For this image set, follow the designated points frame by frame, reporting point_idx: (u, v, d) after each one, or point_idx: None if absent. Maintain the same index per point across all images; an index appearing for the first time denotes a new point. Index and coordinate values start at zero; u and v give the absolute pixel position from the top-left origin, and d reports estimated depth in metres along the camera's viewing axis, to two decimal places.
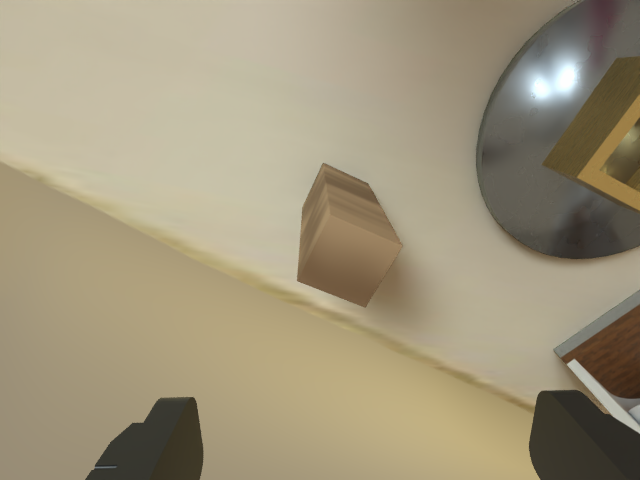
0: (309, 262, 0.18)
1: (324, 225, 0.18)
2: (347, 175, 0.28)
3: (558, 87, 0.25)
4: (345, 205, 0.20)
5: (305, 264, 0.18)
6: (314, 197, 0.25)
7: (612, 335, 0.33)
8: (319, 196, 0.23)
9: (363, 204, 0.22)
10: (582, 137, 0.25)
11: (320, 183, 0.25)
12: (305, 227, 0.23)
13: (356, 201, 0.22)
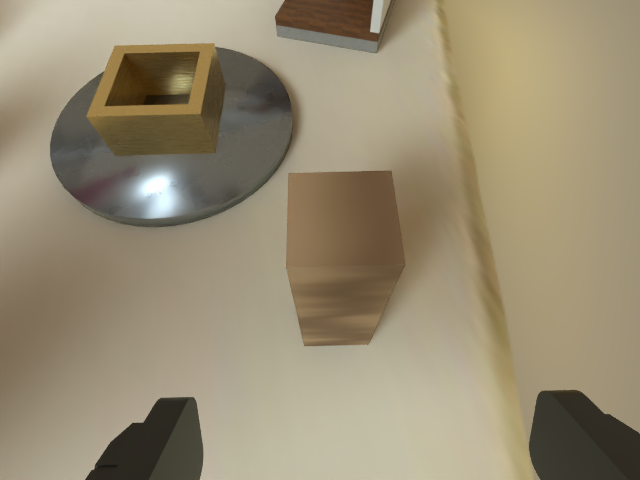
0: (367, 261, 0.12)
1: (306, 268, 0.12)
2: None
3: (148, 178, 0.28)
4: None
5: (374, 265, 0.12)
6: (332, 327, 0.19)
7: (332, 24, 0.36)
8: (318, 317, 0.17)
9: None
10: (174, 134, 0.27)
11: (313, 329, 0.19)
12: (364, 313, 0.17)
13: None
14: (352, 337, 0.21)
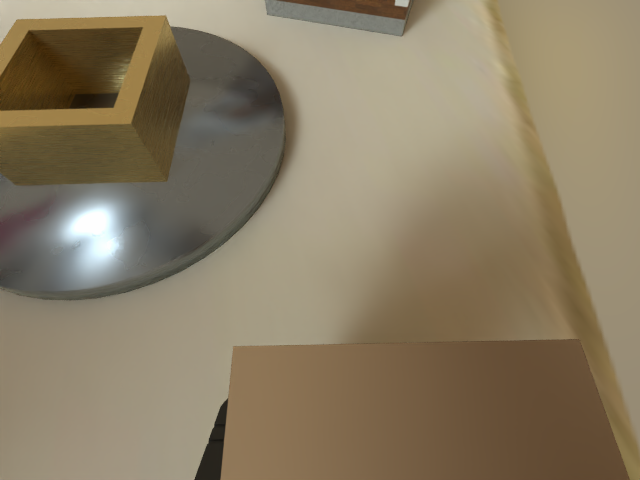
0: None
1: None
2: None
3: (60, 222, 0.18)
4: None
5: None
6: None
7: None
8: None
9: None
10: (97, 155, 0.17)
11: None
12: None
13: None
14: None
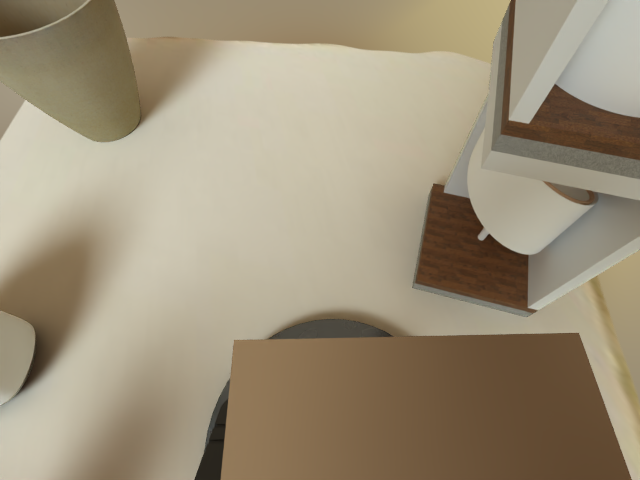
0: None
1: None
2: None
3: None
4: None
5: None
6: None
7: (482, 294, 0.32)
8: None
9: None
10: None
11: None
12: None
13: None
14: None
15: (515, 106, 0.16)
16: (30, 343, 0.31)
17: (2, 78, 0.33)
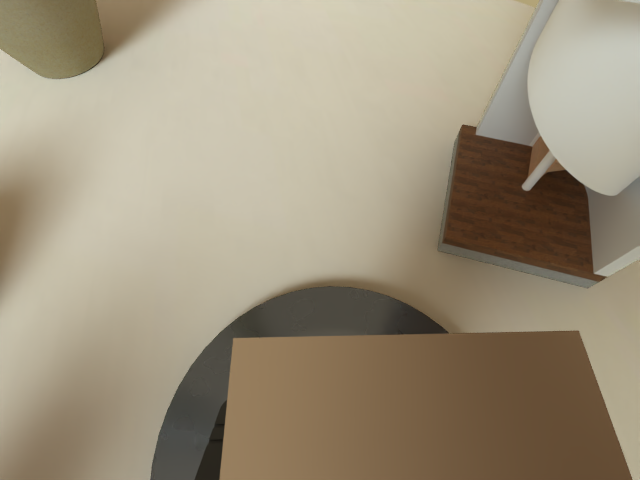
0: None
1: None
2: None
3: None
4: None
5: None
6: None
7: (533, 255, 0.25)
8: None
9: None
10: None
11: None
12: None
13: None
14: None
15: None
16: None
17: None
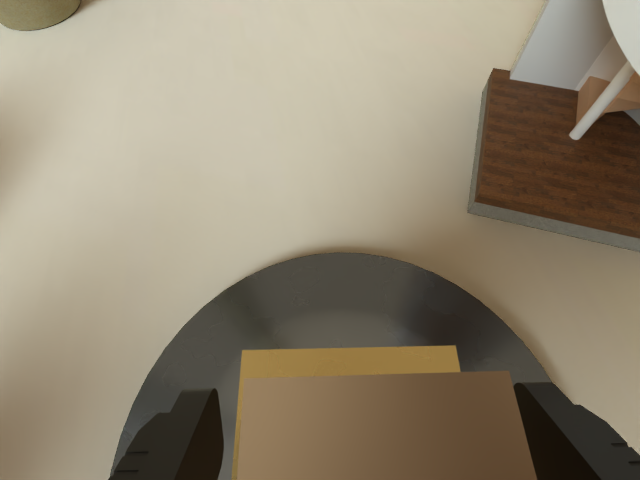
0: None
1: None
2: None
3: None
4: None
5: None
6: None
7: (589, 213, 0.20)
8: None
9: None
10: None
11: None
12: None
13: None
14: None
15: None
16: None
17: None
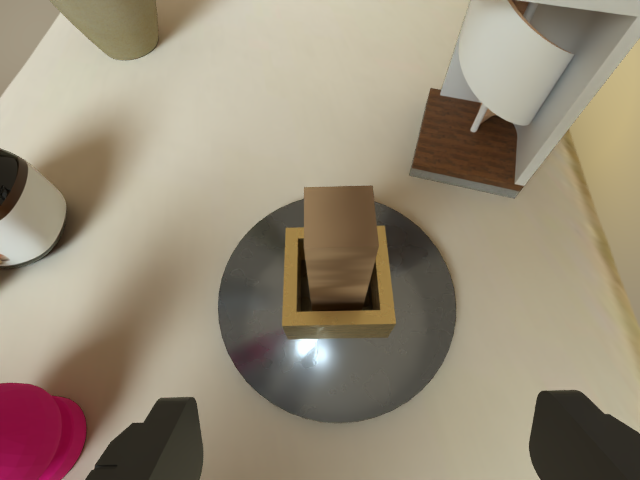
0: (355, 244, 0.19)
1: (316, 248, 0.19)
2: None
3: (327, 369, 0.28)
4: None
5: (359, 246, 0.19)
6: (333, 297, 0.26)
7: (473, 173, 0.35)
8: (323, 287, 0.24)
9: None
10: (358, 331, 0.27)
11: (319, 298, 0.26)
12: (355, 284, 0.24)
13: None
14: (348, 306, 0.28)
15: None
16: (62, 207, 0.34)
17: None
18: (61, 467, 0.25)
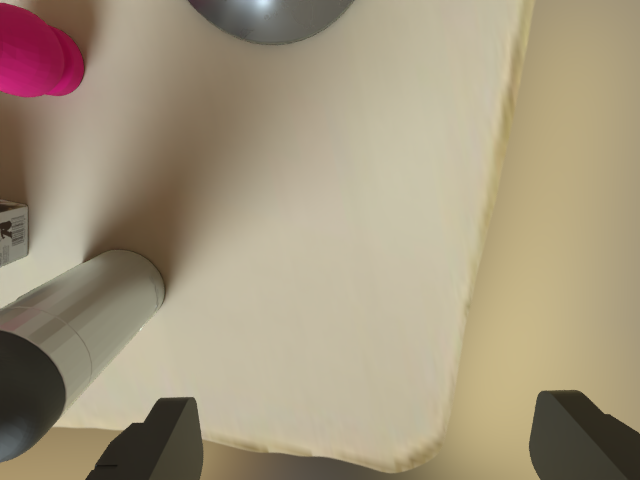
0: None
1: None
2: None
3: None
4: None
5: None
6: None
7: None
8: None
9: None
10: None
11: None
12: None
13: None
14: None
15: None
16: None
17: None
18: (74, 75, 0.35)
